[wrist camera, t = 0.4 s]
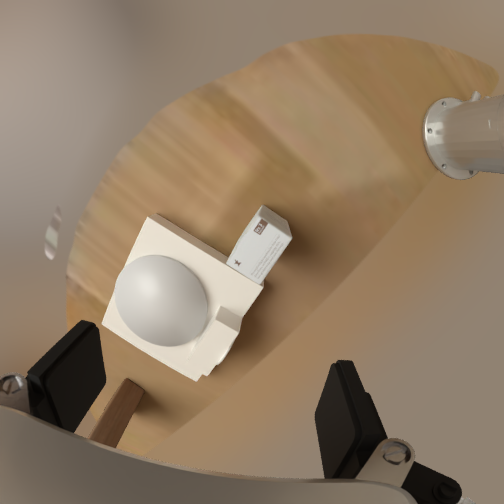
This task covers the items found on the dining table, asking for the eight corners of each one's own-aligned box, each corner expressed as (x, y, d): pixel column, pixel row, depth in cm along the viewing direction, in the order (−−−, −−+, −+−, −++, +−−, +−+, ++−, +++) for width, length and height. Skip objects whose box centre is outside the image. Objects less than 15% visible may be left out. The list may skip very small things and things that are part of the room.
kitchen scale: (155, 213, 41) (133, 222, 34) (267, 280, 43) (266, 303, 36) (110, 315, 47) (88, 337, 39) (203, 371, 48) (193, 400, 41)
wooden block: (129, 410, 53) (96, 472, 36) (111, 398, 53) (74, 458, 35) (145, 390, 51) (110, 458, 34) (126, 376, 50) (85, 442, 33)
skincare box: (264, 255, 42) (261, 290, 31) (236, 238, 42) (223, 266, 30) (289, 219, 41) (296, 240, 29) (261, 200, 40) (257, 214, 28)
